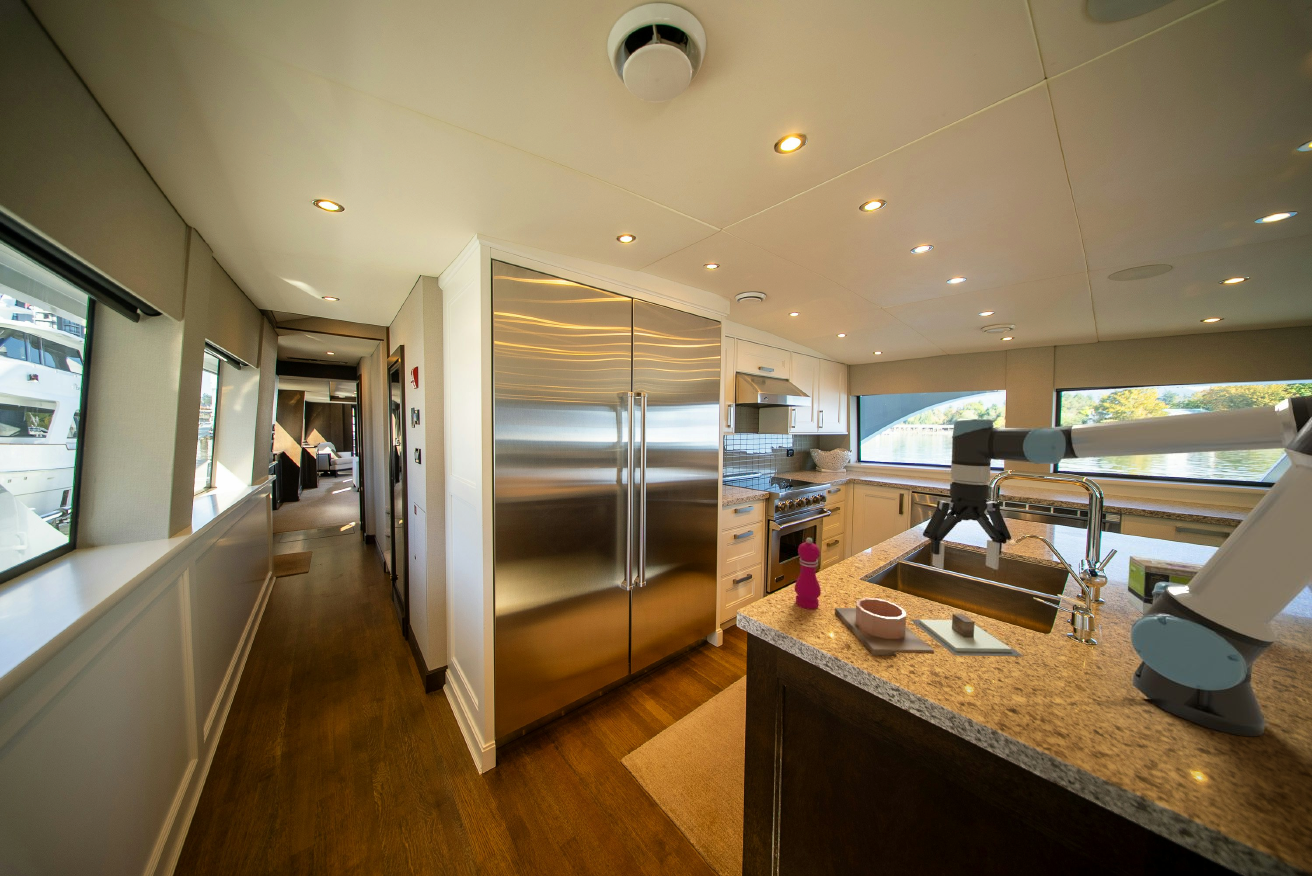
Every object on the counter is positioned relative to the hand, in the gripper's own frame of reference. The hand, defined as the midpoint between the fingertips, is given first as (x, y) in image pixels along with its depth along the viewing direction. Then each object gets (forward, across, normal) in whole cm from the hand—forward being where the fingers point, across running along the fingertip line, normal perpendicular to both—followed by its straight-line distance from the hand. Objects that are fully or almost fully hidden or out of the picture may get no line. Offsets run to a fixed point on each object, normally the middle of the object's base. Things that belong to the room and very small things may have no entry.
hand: (964, 567), depth 98 cm
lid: (+18, 0, 0) cm, 18 cm away
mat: (+19, 0, 0) cm, 19 cm away
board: (+19, +18, -4) cm, 26 cm away
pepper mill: (+19, +31, -19) cm, 41 cm away
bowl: (+17, +18, -4) cm, 25 cm away
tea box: (+19, -73, -14) cm, 76 cm away
